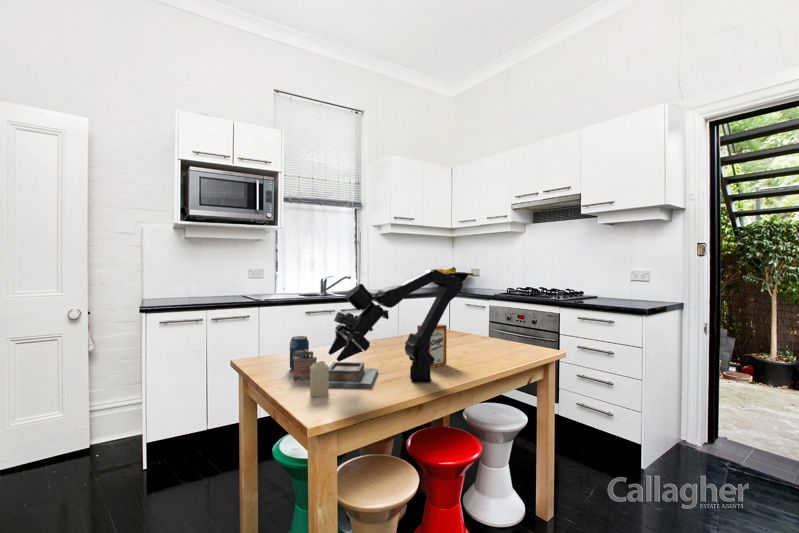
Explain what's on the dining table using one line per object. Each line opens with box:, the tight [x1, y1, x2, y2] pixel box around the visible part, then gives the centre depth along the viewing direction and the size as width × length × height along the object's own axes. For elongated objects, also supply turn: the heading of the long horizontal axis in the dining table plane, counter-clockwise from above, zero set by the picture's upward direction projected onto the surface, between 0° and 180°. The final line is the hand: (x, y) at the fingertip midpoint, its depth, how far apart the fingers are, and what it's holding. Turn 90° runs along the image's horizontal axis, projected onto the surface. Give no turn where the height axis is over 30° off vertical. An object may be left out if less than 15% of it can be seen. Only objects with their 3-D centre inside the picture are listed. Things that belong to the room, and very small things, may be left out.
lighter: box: [292, 350, 318, 381], centre depth 137 cm, size 8×3×10 cm, turn 92°
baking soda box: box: [416, 323, 448, 368], centre depth 157 cm, size 10×6×16 cm
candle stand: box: [329, 361, 379, 389], centre depth 137 cm, size 20×18×4 cm
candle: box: [309, 360, 330, 398], centre depth 121 cm, size 6×6×10 cm
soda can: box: [289, 335, 310, 372], centre depth 149 cm, size 7×7×12 cm
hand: (333, 357), depth 123 cm, fingers open, 9 cm apart
